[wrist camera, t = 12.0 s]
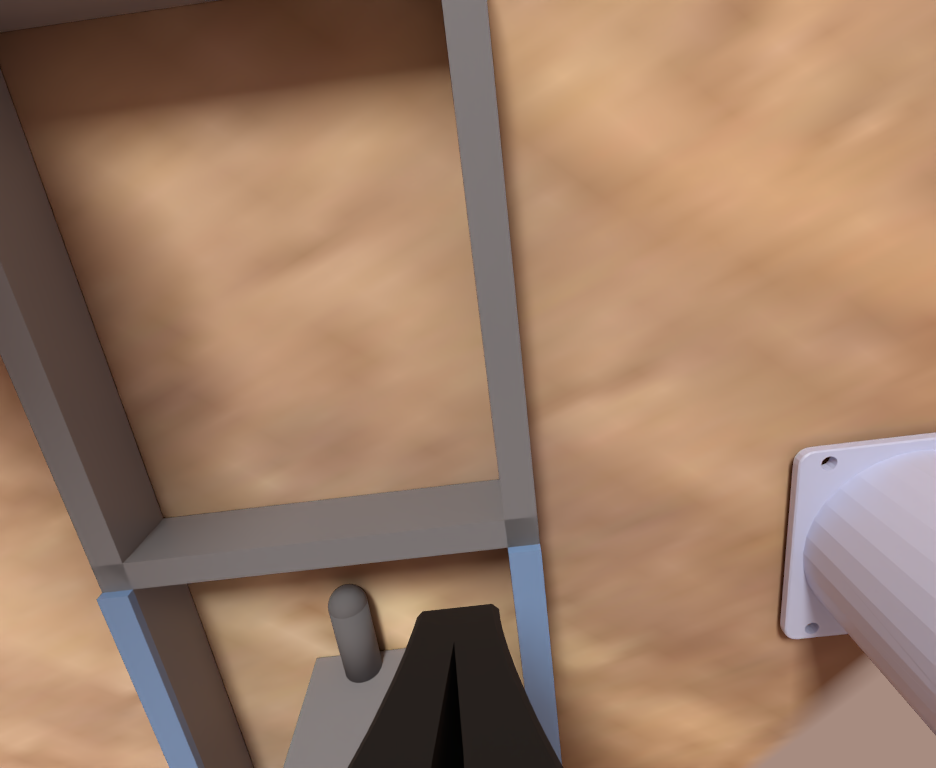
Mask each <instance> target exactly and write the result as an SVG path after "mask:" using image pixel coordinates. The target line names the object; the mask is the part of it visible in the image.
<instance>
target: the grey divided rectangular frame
mask: <svg viewBox="0 0 936 768" xmlns="http://www.w3.org/2000/svg"><path fill="white" fill-rule="evenodd" d="M211 1H218V0H0V32H7V31H14V30H20V29H27V28H34V27H41V26H48V25H54V24H61V23H68V22H75V21H82V20H88V19H95V18H102V17H109V16H116V15H122V14H129V13H136V12H143V11H150V10H156V9H163V8H170V7H177V6H184V5H190V4H197V3H204V2H211ZM441 1H442V10H443V18H444V26H445V34H446V43H447V51H448V59H449V68H450V76H451V84H452V92H453V101H454V109H455V117H456V125H457V134H458V142H459V150H460V158H461V167H462V175H463V183H464V191H465V200H466V208H467V216H468V225H469V233H470V241H471V249H472V258H473V266H474V274H475V282H476V291H477V299H478V307H479V315H480V324H481V332H482V340H483V348H484V357H485V365H486V373H487V382H488V390H489V398H490V406H491V415H492V423H493V431H494V439H495V448H496V456H497V464H498V472H499V480H490V481H481V482H473V483H464V484H456V485H447V486H438V487H430V488H421V489H413V490H404V491H395V492H387V493H378V494H370V495H361V496H352V497H344V498H335V499H326V500H318V501H309V502H301V503H292V504H283V505H275V506H266V507H258V508H249V509H240V510H232V511H223V512H215V513H206V514H197V515H189V516H180V517H171V518H163V516H162V514H161V511H160V508H159V505H158V503H157V500H156V497H155V494H154V491H153V489H152V486H151V483H150V480H149V478H148V475H147V472H146V469H145V467H144V464H143V461H142V458H141V456H140V453H139V450H138V447H137V445H136V442H135V439H134V436H133V434H132V431H131V428H130V425H129V422H128V420H127V417H126V414H125V411H124V409H123V406H122V403H121V400H120V398H119V395H118V392H117V389H116V387H115V384H114V381H113V378H112V376H111V373H110V370H109V367H108V364H107V362H106V359H105V356H104V353H103V351H102V348H101V345H100V342H99V340H98V337H97V334H96V331H95V329H94V326H93V323H92V320H91V318H90V315H89V312H88V309H87V306H86V304H85V301H84V298H83V295H82V293H81V290H80V287H79V284H78V282H77V279H76V276H75V273H74V271H73V268H72V265H71V262H70V260H69V257H68V254H67V251H66V248H65V246H64V243H63V240H62V237H61V235H60V232H59V229H58V226H57V224H56V221H55V218H54V215H53V213H52V210H51V207H50V204H49V202H48V199H47V196H46V193H45V191H44V188H43V185H42V182H41V179H40V177H39V174H38V171H37V168H36V166H35V163H34V160H33V157H32V155H31V152H30V149H29V146H28V144H27V141H26V138H25V135H24V133H23V130H22V127H21V124H20V121H19V119H18V116H17V113H16V110H15V108H14V105H13V102H12V99H11V97H10V94H9V91H8V88H7V86H6V83H5V80H4V77H3V75H2V72H1V69H0V355H1V357H2V359H3V362H4V364H5V366H6V369H7V371H8V373H9V376H10V378H11V380H12V383H13V385H14V387H15V390H16V392H17V394H18V397H19V399H20V401H21V404H22V406H23V408H24V411H25V413H26V415H27V418H28V420H29V422H30V425H31V427H32V430H33V432H34V434H35V437H36V439H37V441H38V444H39V446H40V448H41V451H42V453H43V455H44V458H45V460H46V462H47V465H48V467H49V469H50V472H51V474H52V476H53V479H54V481H55V483H56V486H57V488H58V490H59V493H60V495H61V497H62V500H63V502H64V504H65V507H66V509H67V511H68V514H69V516H70V518H71V521H72V523H73V525H74V528H75V530H76V532H77V535H78V537H79V539H80V542H81V544H82V546H83V549H84V551H85V553H86V556H87V558H88V560H89V563H90V565H91V567H92V570H93V572H94V574H95V577H96V579H97V581H98V584H99V586H100V588H101V591H102V594H101V595H100V596H99V597H98V599H97V602H98V604H99V606H100V609H101V611H102V613H103V616H104V618H105V620H106V622H107V625H108V627H109V629H110V632H111V634H112V636H113V639H114V641H115V643H116V646H117V648H118V650H119V652H120V655H121V657H122V659H123V662H124V664H125V666H126V669H127V671H128V673H129V675H130V678H131V680H132V682H133V685H134V687H135V689H136V692H137V694H138V696H139V698H140V701H141V703H142V705H143V708H144V710H145V712H146V715H147V717H148V719H149V721H150V724H151V726H152V728H153V731H154V733H155V735H156V738H157V740H158V742H159V745H160V747H161V749H162V751H163V754H164V756H165V758H166V761H167V763H168V765H169V768H253V765H252V762H251V759H250V757H249V754H248V751H247V748H246V746H245V743H244V740H243V737H242V734H241V732H240V729H239V726H238V723H237V721H236V718H235V715H234V712H233V710H232V707H231V704H230V701H229V699H228V696H227V693H226V690H225V688H224V685H223V682H222V679H221V677H220V674H219V671H218V668H217V665H216V663H215V660H214V657H213V654H212V652H211V649H210V646H209V643H208V641H207V638H206V635H205V632H204V630H203V627H202V624H201V621H200V619H199V616H198V613H197V610H196V607H195V605H194V602H193V599H192V596H191V594H190V591H189V588H188V585H187V583H196V582H205V581H214V580H223V579H232V578H241V577H250V576H259V575H268V574H276V573H285V572H294V571H303V570H312V569H321V568H330V567H339V566H348V565H357V564H366V563H375V562H384V561H393V560H401V559H410V558H419V557H428V556H437V555H446V554H455V553H464V552H473V551H482V550H491V549H500V548H508V555H509V563H510V572H511V580H512V588H513V596H514V605H515V613H516V621H517V629H518V638H519V646H520V654H521V663H522V671H523V679H524V687H525V692H526V694H527V696H528V698H529V700H530V703H531V705H532V707H533V709H534V711H535V714H536V716H537V718H538V720H539V722H540V724H541V726H542V728H543V730H544V732H545V734H546V736H547V738H548V740H549V742H550V743H551V745H552V747H553V749H554V751H555V753H556V755H557V757H558V759H559V760H560V762H561V764H562V760H561V750H560V739H559V729H558V719H557V708H556V698H555V688H554V677H553V667H552V657H551V646H550V636H549V626H548V615H547V605H546V595H545V584H544V574H543V564H542V554H541V547H540V540H539V530H538V520H537V510H536V499H535V489H534V479H533V468H532V458H531V448H530V438H529V427H528V417H527V407H526V397H525V386H524V376H523V366H522V356H521V345H520V335H519V325H518V315H517V304H516V294H515V284H514V274H513V263H512V253H511V243H510V232H509V222H508V212H507V202H506V191H505V181H504V171H503V161H502V150H501V140H500V130H499V120H498V109H497V99H496V89H495V79H494V68H493V58H492V48H491V37H490V27H489V17H488V7H487V0H441Z"/></svg>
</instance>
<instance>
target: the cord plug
mask: <svg viewBox="0 0 936 768" xmlns="http://www.w3.org/2000/svg"><path fill="white" fill-rule="evenodd" d="M328 610H329V614H330V618H331V622H332V626H333V629H334V633H335V637H336V640H337V644H338V648H339V652H340V655H341V656H332V657H323V658H317V659H316V663H315V666H314V669H313V672H312V676H311V679H310V682H309V686H308V689H307V692H306V695H305V699H304V702H303V705H302V708H301V712H300V715H299V718H298V721H297V725H296V728H295V731H294V734H293V738H292V741H291V744H290V747H289V751H288V754H287V757H286V761H285V764H284V767H283V768H348V766H349V764H350V762H351V760H352V759H353V757H354V755H355V753H356V751H357V749H358V748H359V746H360V744H361V742H362V740H363V739H364V737H365V735H366V733H367V731H368V729H369V727H370V725H371V723H372V721H373V719H374V717H375V715H376V713H377V711H378V709H379V707H380V705H381V703H382V701H383V699H384V696H385V694H386V692H387V690H388V688H389V686H390V684H391V682H392V680H393V677H394V675H395V673H396V671H397V668H398V666H399V664H400V661H401V659H402V657H403V654H404V652H405V649H406V648H405V649H396V650H387V651H379V647H378V643H377V639H376V634H375V630H374V626H373V622H372V617H371V613H370V609H369V605H368V601H367V597H366V594H365V593H364V591H363V590H362V589H361V588H360V587H358V586H356V585H353V584H345V585H342V586H340V587H338V588H337V589H336V590H335V591H334V592H333V593H332V595H331V596H330V599H329V603H328Z"/></svg>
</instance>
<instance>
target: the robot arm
mask: <svg viewBox="0 0 936 768" xmlns="http://www.w3.org/2000/svg"><path fill="white" fill-rule="evenodd" d="M829 456H830V458H829V461H828V462H827V463H825V464H823V465H821V464H822V461H823V460H824V459H825V458H827V457H829ZM810 623H811V624H810ZM808 624H809V625H808ZM780 626H781V629H782V630H783V632H784V633H785V634H786V636H787V637H789V638H791V639H803V638H813V637H823V636H832V635H842V634H849V635H850V637H851V638H852V639H853V640H854V641H855V642H856V643H857V645H858V646H859V647H860V648H861V649H862V650H863V652H864V653H865V654H866V655H867V656H868V657H869V658H870V660H871V661H872V662H873V663H874V664H875V665H876V667H877V668H878V669H879V670H880V671H881V672H882V674H883V675H884V676H885V677H886V678H887V679H888V680H889V682H890V683H891V684H892V685H893V686H894V687H895V689H896V690H897V691H898V692H899V693H900V694H901V695H902V697H903V698H904V699H905V700H906V701H907V702H908V703H909V705H910V706H911V707H912V708H913V709H914V711H915V712H916V713H917V714H918V715H919V716H920V717H921V718H922V720H923V721H924V722H925V723H926V724H927V725H928V727H929V728H930V729H931V730H932V731H933V732H934V734H935V735H936V433H927V434H919V435H910V436H901V437H893V438H884V439H875V440H867V441H858V442H850V443H841V444H832V445H824V446H815V447H808V448H805V449H802V450H801V451H799V452H798V453H797V455H796V456H795V458H794V461H793V470H792V483H791V495H790V508H789V520H788V533H787V545H786V557H785V570H784V582H783V595H782V607H781V620H780ZM348 768H563V766H562V764H561V762H560V760H559V759H558V757H557V755H556V753H555V751H554V749H553V747H552V745H551V743H550V742H549V740H548V738H547V736H546V734H545V732H544V730H543V728H542V726H541V724H540V722H539V720H538V718H537V716H536V714H535V711H534V709H533V707H532V705H531V703H530V700H529V698H528V696H527V694H526V692H525V689H524V687H523V685H522V683H521V680H520V678H519V676H518V673H517V671H516V668H515V666H514V663H513V660H512V657H511V655H510V652H509V649H508V646H507V643H506V640H505V637H504V633H503V630H502V625H501V621H500V614H499V609H498V608H497V607H495V606H494V605H493V604H487V605H478V606H469V607H460V608H450V609H441V610H432V611H423V612H422V613H421V614H420V615H419V616H418V617H417V620H416V623H415V626H414V629H413V631H412V634H411V637H410V639H409V642H408V645H407V647H406V649H405V652H404V654H403V657H402V659H401V661H400V664H399V666H398V668H397V671H396V673H395V675H394V677H393V680H392V682H391V684H390V686H389V688H388V690H387V692H386V694H385V696H384V699H383V701H382V703H381V705H380V707H379V709H378V711H377V713H376V715H375V717H374V719H373V721H372V723H371V725H370V727H369V729H368V731H367V733H366V735H365V737H364V739H363V740H362V742H361V744H360V746H359V748H358V749H357V751H356V753H355V755H354V757H353V759H352V760H351V762H350V764H349V766H348Z"/></svg>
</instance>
